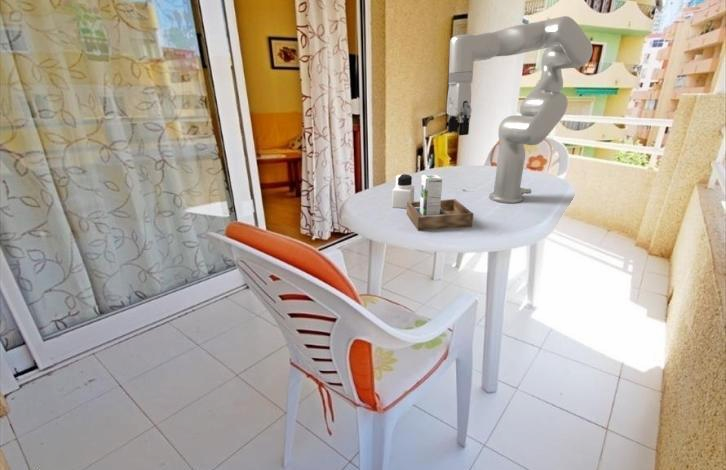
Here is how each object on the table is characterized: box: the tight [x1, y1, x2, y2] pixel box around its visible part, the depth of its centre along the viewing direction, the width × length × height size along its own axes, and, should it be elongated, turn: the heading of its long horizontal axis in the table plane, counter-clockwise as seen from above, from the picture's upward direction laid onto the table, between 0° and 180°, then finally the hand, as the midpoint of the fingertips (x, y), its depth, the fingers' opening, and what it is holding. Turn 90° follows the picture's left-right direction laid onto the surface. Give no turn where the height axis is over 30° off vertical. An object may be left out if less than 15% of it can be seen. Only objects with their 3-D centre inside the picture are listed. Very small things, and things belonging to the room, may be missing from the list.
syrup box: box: [419, 173, 443, 216], centre depth 113 cm, size 6×6×14 cm
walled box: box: [406, 198, 474, 232], centre depth 116 cm, size 18×16×4 cm
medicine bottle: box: [391, 173, 415, 209], centre depth 130 cm, size 7×7×12 cm
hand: (457, 133), depth 117 cm, fingers open, 9 cm apart
